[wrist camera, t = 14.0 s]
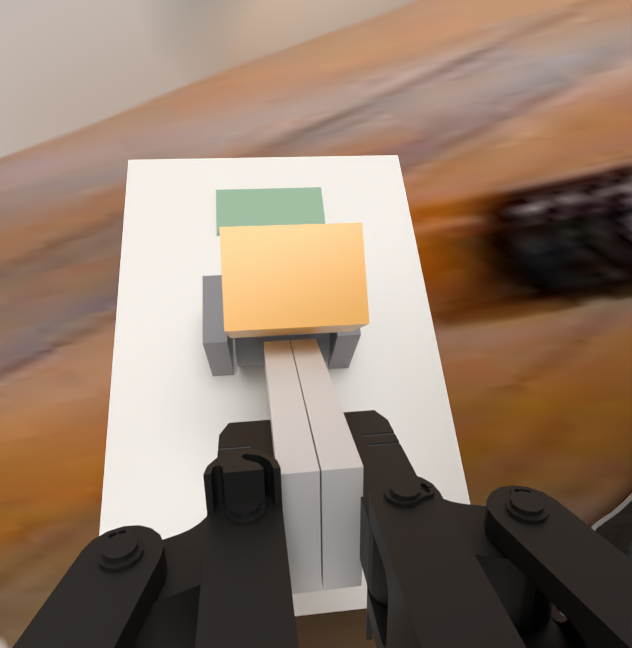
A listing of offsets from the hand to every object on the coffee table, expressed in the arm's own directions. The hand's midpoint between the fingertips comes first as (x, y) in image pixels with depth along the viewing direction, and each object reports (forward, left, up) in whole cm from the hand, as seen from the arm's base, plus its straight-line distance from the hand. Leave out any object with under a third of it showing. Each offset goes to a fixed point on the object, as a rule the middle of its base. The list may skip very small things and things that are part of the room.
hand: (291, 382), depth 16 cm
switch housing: (0, -5, -15) cm, 16 cm away
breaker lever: (0, -6, -8) cm, 10 cm away
